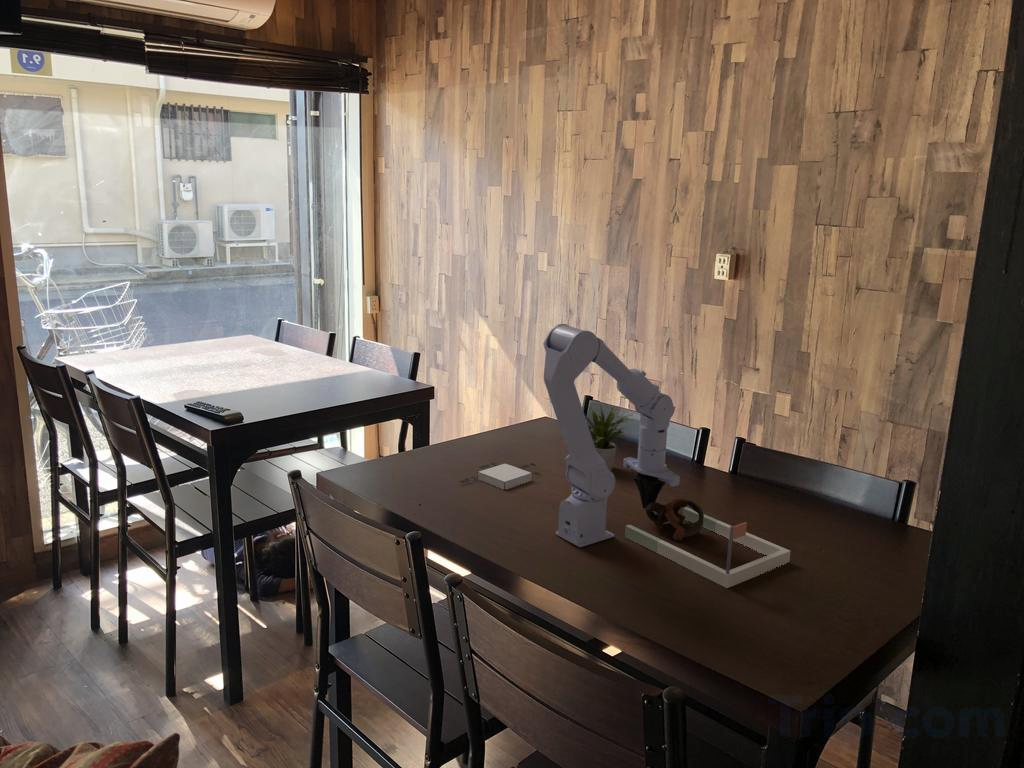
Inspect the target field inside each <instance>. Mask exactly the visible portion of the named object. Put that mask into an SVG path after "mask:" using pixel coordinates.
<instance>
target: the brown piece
mask: <svg viewBox="0 0 1024 768" xmlns="http://www.w3.org/2000/svg"><path fill="white" fill-rule="evenodd" d="M687 506H689V508H691V509H693V510H694V511H696V512H697V513H698V515H699V520H698V521H697V522H695V523H690V522H685V521H686V520H685V518H686V517H685V516H684V515H683V514H681V513H679V511H680V509H681V508H686V507H687ZM644 511H645V514H646V516H647V518H648V519H649V520H650V521H652V522H653V523H654V525H655V527H656V528H659V527H661V526H662V525H663V524H665V523H667V522H669V524H670V525H671V526H672V527H673V528H674V529H675V532H674V533H673V534H672V539H674V540H676V541H677V540H680V541H682V540H683V538H685V539H686V538H689V537H692V536H695V535H696V534H698V533H700V531H701V530H702V529H703V528H702V527H703V522H704V521H703V518H704V511H703V510H702V508H701V506H699V504H698V503H696V502H695V501H693V500H690V499H687V498H682V497H681V498H676V499H674V500H672V501H670V502H668V503H666V504H662V503H659V502H653V503H650V504H648V506H647V507H646V509H644ZM655 513H656V514H655ZM680 523H683V524H684V525H682V524H680Z"/></svg>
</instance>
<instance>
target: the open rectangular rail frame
mask: <svg viewBox="0 0 1024 768" xmlns="http://www.w3.org/2000/svg"><path fill="white" fill-rule="evenodd" d="M703 514H704V513H703ZM682 515H684V516H685V517H686V518H685V520H684V521H686V520H687V521H686V522H688V521H690V522H692V523H695V522H697V521H698V520H699V515H698V513H697V512H696V511H694V510H693V508H691V507H687V506H685V507H682ZM703 521H704V522H703V527H704V528H706V529H708V530H707V531H709V530H711V531H713V532H715V533H717V534H716V535H718V534H719V535H718V536H720V535H722V536H724V537H726V538H725V539H727V538H728V539H727V540H728V544H727V545H728V546H727V555H726V556H727V558H726V568H725V569H723V568H721V567H720V566H717V565H715V564H713V563H711V562H709V561H706V560H705V559H702V557H701V558H700V557H699V556H696V555H694V554H693V553H690V552H688V551H686V550H684V549H682V548H680V547H677V546H676V545H673V544H671V543H669V542H667V541H665V540H662V539H661V538H658V537H656V536H655V535H653V534H650V533H649V532H646V531H644V530H642V529H640V528H638V527H636V526H633V525H631V524H627V525H625V530H624V531H625V532H624V538H625V539H627V540H630V541H632V542H634V543H635V544H637V543H638V545H640V546H641V545H642V547H643V546H644V548H645V547H646V549H647V548H648V550H649V549H650V550H649V551H651V550H652V552H653V551H654V553H655V552H656V554H657V553H658V554H657V555H659V554H660V556H661V555H662V556H661V557H663V556H664V558H665V557H666V559H667V558H668V560H669V559H670V560H669V561H671V560H672V562H673V561H674V562H673V563H675V562H676V563H675V564H678V565H680V566H681V567H683V568H685V569H688V570H689V571H691V572H693V573H696V574H697V575H699V576H702V577H704V579H705V578H706V579H707V580H710V581H712V582H713V583H716V584H717V585H719V586H722V587H724V588H726V589H728V588H731V587H734V586H736V585H739V584H741V583H743V582H746V581H748V580H750V579H753V578H756V577H758V576H760V574H761V575H763V574H765V572H766V573H768V572H770V571H773V570H775V569H777V568H776V567H778V568H780V567H782V566H781V565H783V566H785V565H787V564H786V563H788V562H789V563H790V561H791V560H790V559H791V550H789V549H787V548H785V547H782V546H780V545H777V544H775V543H773V542H771V541H768V540H766V539H763V538H761V537H758V536H757V535H754V534H751V533H749V532H748V531H747V525H748V522H746V521H745V522H742V523H738V524H736V525H730V524H729V523H728V524H727V523H726V522H723V521H721V520H718V519H717V518H714V517H711V516H709V515H707V514H704V518H703ZM690 522H689V523H690ZM704 528H703V529H704ZM706 529H705V530H706ZM711 531H710V532H711ZM713 532H712V533H713ZM715 533H714V534H715ZM722 536H721V537H722ZM724 537H723V538H724ZM732 540H733V541H732ZM734 541H735V542H734ZM733 542H734V543H736V542H738V543H740V544H743V545H744V546H743V545H742V546H743V547H745V546H747V547H749V548H751V549H750V550H752V549H753V550H752V551H754V550H755V551H754V552H756V551H757V552H756V553H759V554H761V553H762V554H761V555H763V554H764V555H763V557H760V558H757V559H755V560H752V561H750V562H748V563H745V564H743V565H740V566H736V567H735V568H731V558H732V549H733ZM738 543H737V544H738ZM740 544H739V545H740ZM747 547H746V548H747ZM749 548H748V549H749ZM765 555H767V556H765ZM789 563H788V564H789ZM784 564H785V565H784ZM779 566H780V567H779ZM730 568H731V569H730ZM774 568H775V569H774ZM772 569H773V570H772ZM767 571H768V572H767Z"/></svg>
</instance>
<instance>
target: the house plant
mask: <svg viewBox="0 0 1024 768" xmlns="http://www.w3.org/2000/svg"><path fill="white" fill-rule="evenodd" d="M599 407H600V415H597V413H596V412H595V411H594V410H593V409H592V408H591V407H589V410H590V413H591V417H592V421H591V420H590V419H589V417H588V416H586V415H585V418H586V421H587V423H589V424H590V426H591V427H592V428H589V431H590V434H591V437H593V438H594V440H595V441H594V440H593V443H594V446H595V449H596V451H597V452H598V454H599V455H600V456H601V457H602V459H603V460H604V461H605V463H606V466H607V468H608V469H609V470H610V471H612V469H613V466H614V465H613V464H614V461H615V456H616V452H617V448H618V446H617V444H616V443H614V441H615V440H616V439H618V438H619V437H621V438H623V439H624V440H626V437H625V435H623V433H624V434H625V432H624V431H623V430H624V429H626V427H621V428H620V429H618V428H617V427H618V426H619V425H620V424H621V423H624V422H627V421H629V418H627V417H631V416H632V414H628V415H624V416H621V418H619V419H618V420H616V421H615V422H614V419H615V414H616V412H617V409H615V410H614V406H612V407H611V409H610V411H609V413H608V415H607V416H606V419H605V415H604V412H603V411H604V410H603V408H602V406H599ZM616 430H617V431H616ZM614 437H615V438H614Z"/></svg>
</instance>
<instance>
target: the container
mask: <svg viewBox="0 0 1024 768" xmlns="http://www.w3.org/2000/svg"><path fill="white" fill-rule="evenodd" d="M490 465H492V466H493V467H492V466H491V467H490ZM536 465H537V464H536V463H534V462H530V463H529V464H523V465H521V466H518V467H516V466H514V465H511V464H508V463H506V462H505V463H502V464H499V465H498V464H497V462H496V463H495V462H491V463H490V464H485V465H481V466H479V467H478V468H479V469H482V470H479V471H477V475H476V476H471V477H470V478H469V477H468V478H465V479H461V480H459V483H467V482H470V481H471V479H473V480H477V479H478V481H480V480H481V481H480V482H482V481H484V482H483V483H485V482H486V483H485V484H487V483H489V484H488V485H490V484H491V485H490V486H493V485H494V486H493V487H495V486H496V487H495V488H498V487H499V488H498V489H500V488H501V489H500V490H503V489H504V490H503V491H506V490H510V489H512V488H515V487H518V486H521V485H524V484H527V483H530V482H533V472H530V471H528V470H526V468H527V469H528V468H529V467H530V466H533V467H535V466H536ZM529 481H530V482H529ZM526 482H527V483H526ZM523 483H524V484H523ZM520 484H521V485H520ZM517 485H518V486H517ZM505 489H506V490H505Z"/></svg>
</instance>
